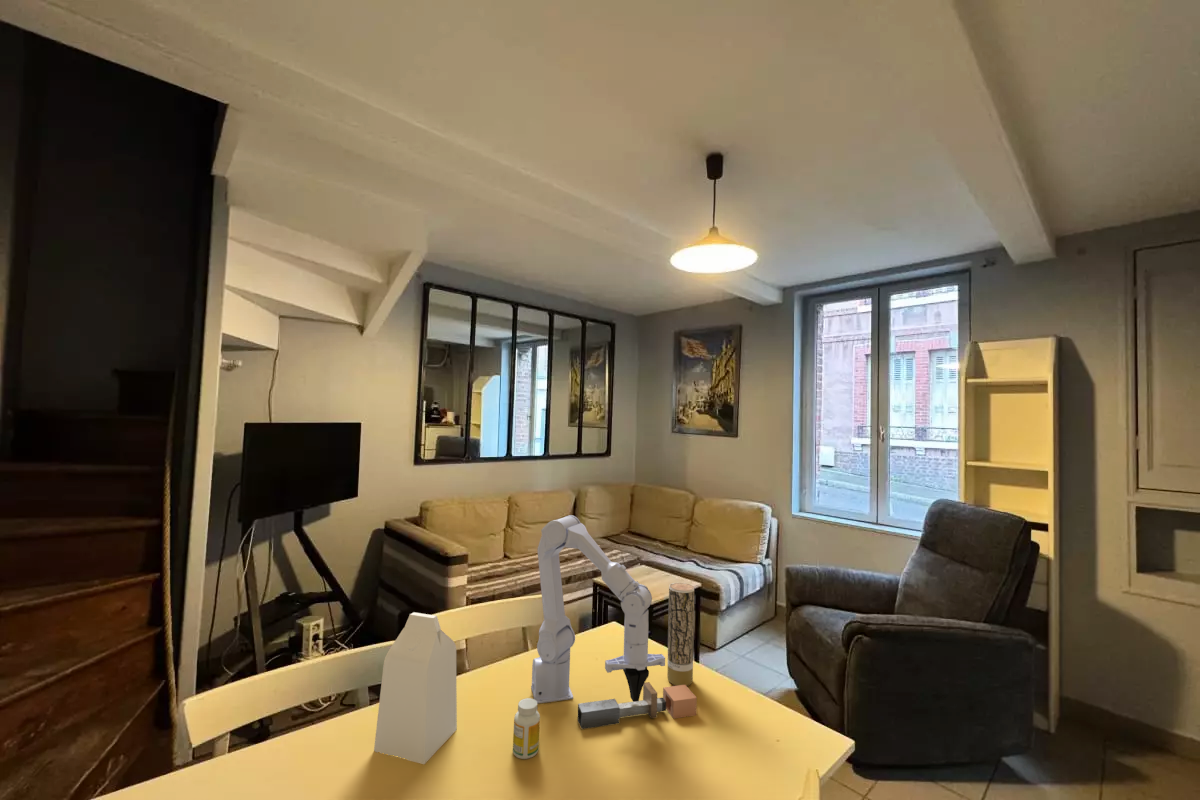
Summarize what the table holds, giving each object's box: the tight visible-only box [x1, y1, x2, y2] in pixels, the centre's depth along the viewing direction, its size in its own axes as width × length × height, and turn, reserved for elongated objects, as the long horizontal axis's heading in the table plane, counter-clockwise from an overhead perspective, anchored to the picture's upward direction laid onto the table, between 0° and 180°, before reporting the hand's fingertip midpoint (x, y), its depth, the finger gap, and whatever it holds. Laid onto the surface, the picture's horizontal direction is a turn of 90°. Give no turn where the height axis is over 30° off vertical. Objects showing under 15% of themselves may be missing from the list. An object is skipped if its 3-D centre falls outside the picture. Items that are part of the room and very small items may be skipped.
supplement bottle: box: [512, 697, 541, 760], centre depth 99 cm, size 5×5×10 cm
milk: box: [373, 611, 458, 765], centre depth 102 cm, size 12×12×26 cm
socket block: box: [662, 685, 698, 720], centre depth 115 cm, size 6×6×4 cm
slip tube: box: [618, 681, 667, 719], centre depth 112 cm, size 19×5×6 cm, turn 106°
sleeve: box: [577, 698, 621, 730], centre depth 110 cm, size 9×4×4 cm, turn 106°
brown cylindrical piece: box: [666, 582, 695, 687], centre depth 129 cm, size 7×7×25 cm
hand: (634, 699), depth 112 cm, fingers closed
